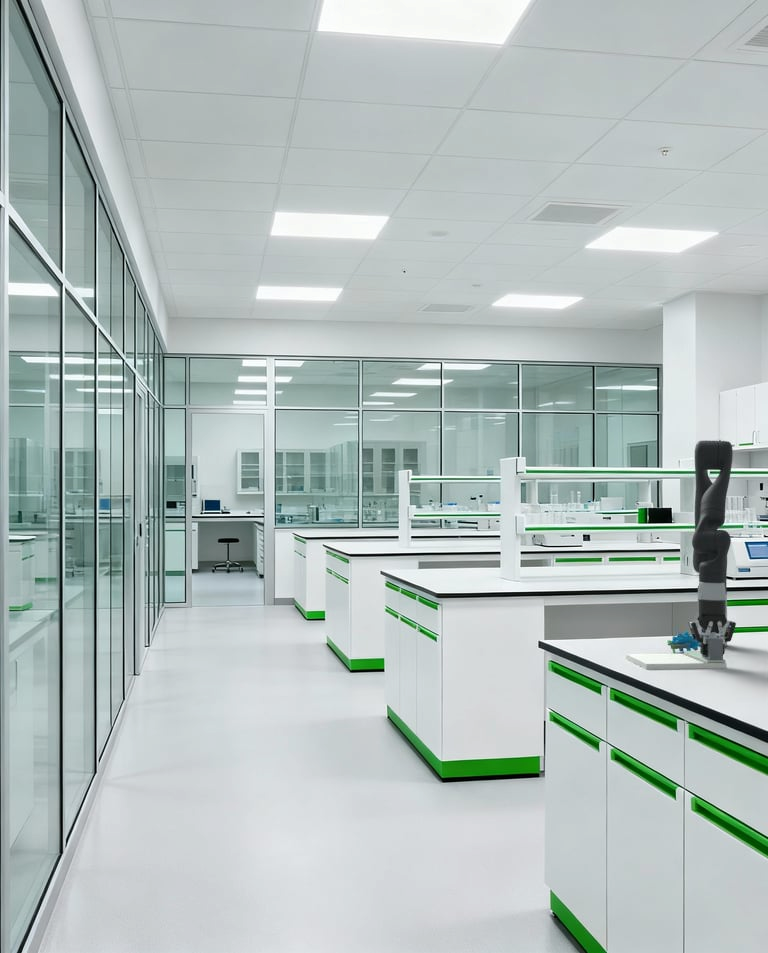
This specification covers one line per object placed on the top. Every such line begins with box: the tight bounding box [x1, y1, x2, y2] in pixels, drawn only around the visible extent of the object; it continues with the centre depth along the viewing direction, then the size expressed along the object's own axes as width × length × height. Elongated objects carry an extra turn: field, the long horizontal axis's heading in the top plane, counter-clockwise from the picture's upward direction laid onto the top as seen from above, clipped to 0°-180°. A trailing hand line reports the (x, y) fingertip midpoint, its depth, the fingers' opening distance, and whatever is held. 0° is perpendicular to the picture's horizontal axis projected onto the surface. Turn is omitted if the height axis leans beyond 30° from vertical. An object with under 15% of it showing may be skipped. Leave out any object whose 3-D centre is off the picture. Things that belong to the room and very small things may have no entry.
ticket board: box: [625, 652, 727, 670], centre depth 257 cm, size 16×24×2 cm, turn 95°
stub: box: [683, 637, 726, 663], centre depth 258 cm, size 16×5×7 cm, turn 5°
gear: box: [667, 630, 701, 654], centre depth 273 cm, size 11×6×10 cm
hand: (712, 656), depth 252 cm, fingers closed on stub, 4 cm apart
